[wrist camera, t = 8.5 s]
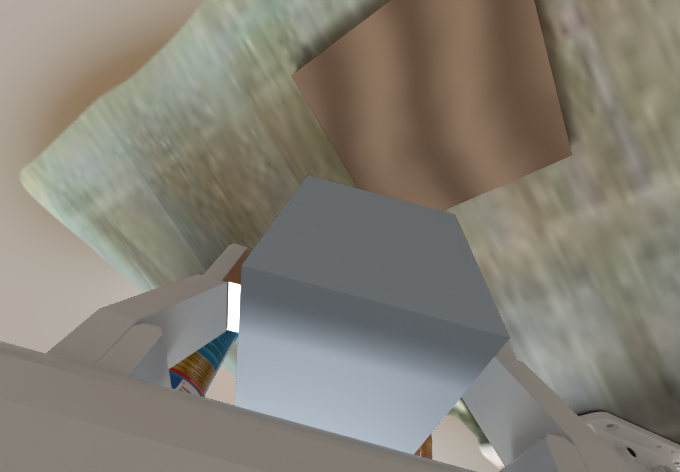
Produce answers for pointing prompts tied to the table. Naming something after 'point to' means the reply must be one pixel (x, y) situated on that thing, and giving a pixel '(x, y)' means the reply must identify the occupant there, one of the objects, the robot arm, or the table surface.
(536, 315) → the table surface
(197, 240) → the table surface
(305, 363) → the slate cube
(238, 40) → the table surface
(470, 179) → the brown rippled cloth
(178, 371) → the beverage bottle
